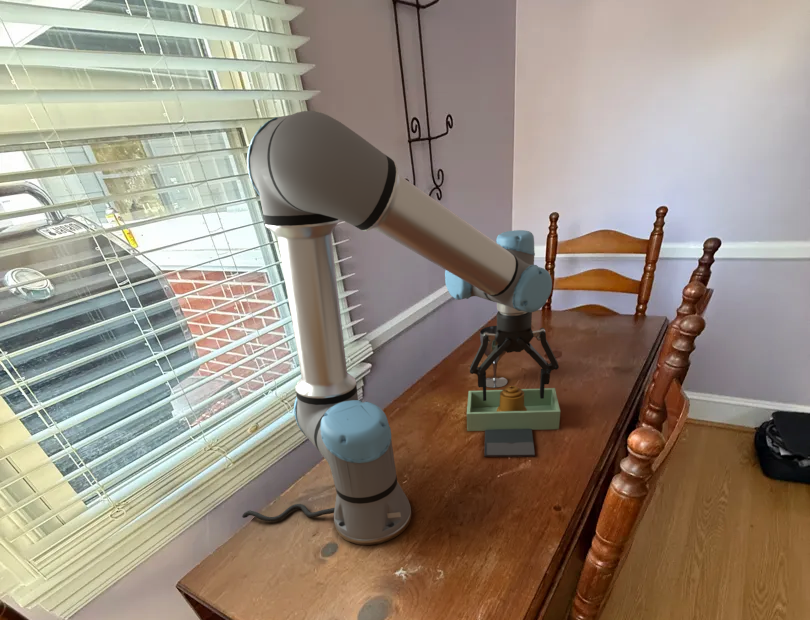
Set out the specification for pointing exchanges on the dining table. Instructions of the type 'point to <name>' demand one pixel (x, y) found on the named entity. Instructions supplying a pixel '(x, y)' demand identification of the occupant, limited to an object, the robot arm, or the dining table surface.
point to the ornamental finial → (511, 399)
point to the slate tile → (509, 443)
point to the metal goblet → (494, 380)
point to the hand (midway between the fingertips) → (512, 397)
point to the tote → (535, 418)
